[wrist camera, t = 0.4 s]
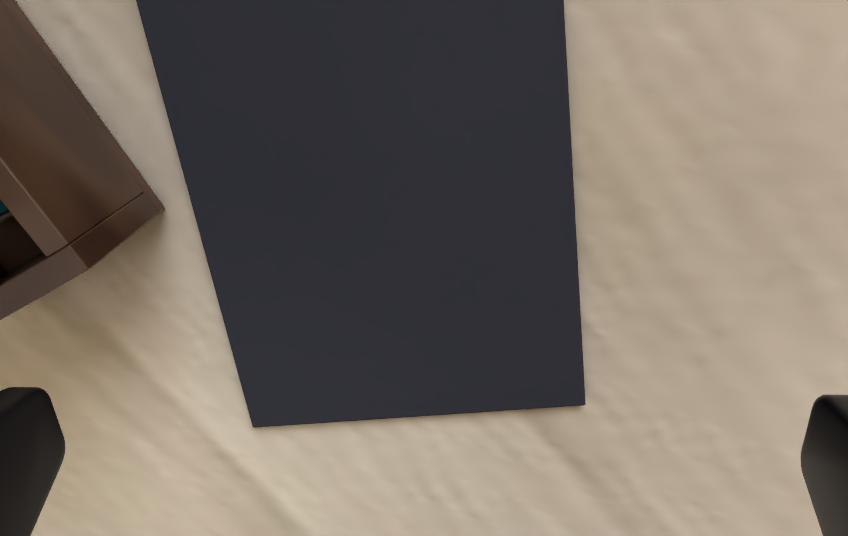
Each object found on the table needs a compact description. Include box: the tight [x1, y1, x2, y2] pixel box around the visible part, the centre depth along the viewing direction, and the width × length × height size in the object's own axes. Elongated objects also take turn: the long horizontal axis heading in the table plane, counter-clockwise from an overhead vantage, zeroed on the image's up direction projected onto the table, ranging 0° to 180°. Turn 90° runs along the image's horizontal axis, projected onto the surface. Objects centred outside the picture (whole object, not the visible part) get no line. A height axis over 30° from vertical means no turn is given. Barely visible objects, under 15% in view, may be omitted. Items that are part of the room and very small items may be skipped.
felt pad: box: [136, 0, 585, 427], centre depth 22 cm, size 20×12×1 cm, turn 8°
